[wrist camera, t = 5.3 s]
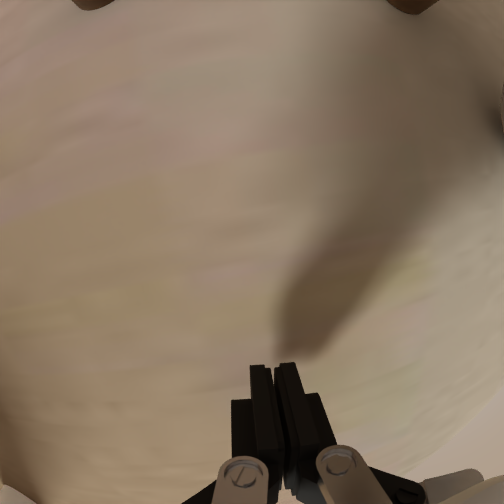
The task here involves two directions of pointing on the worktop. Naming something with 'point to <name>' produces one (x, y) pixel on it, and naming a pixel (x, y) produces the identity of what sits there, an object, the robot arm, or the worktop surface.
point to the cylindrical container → (13, 496)
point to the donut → (502, 108)
